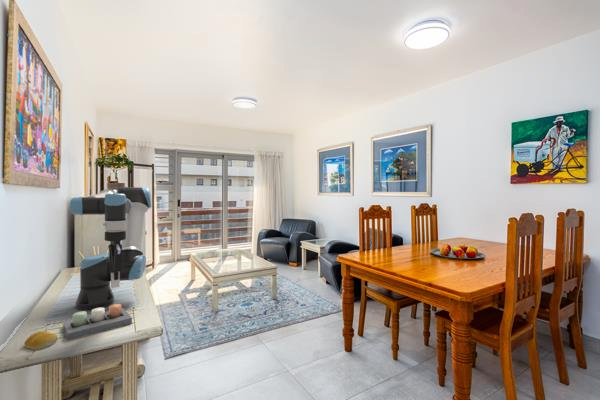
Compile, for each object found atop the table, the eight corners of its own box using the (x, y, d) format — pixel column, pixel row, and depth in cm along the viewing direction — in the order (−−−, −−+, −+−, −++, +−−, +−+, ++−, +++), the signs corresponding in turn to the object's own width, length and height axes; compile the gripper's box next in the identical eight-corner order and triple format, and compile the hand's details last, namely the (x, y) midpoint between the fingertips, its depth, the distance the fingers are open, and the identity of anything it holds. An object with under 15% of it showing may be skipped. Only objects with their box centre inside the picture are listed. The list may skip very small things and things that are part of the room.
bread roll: (36, 352, 100) (35, 341, 100) (20, 347, 104) (20, 335, 104) (63, 341, 108) (63, 330, 108) (47, 336, 111) (47, 325, 111)
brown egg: (107, 315, 125) (107, 305, 125) (119, 312, 128) (119, 303, 128) (110, 318, 122) (110, 308, 122) (122, 315, 125) (122, 306, 125)
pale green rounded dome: (72, 323, 117) (71, 313, 117) (85, 320, 120) (85, 310, 120) (73, 327, 114) (73, 316, 113) (87, 323, 117) (87, 313, 116)
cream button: (90, 319, 121) (90, 309, 121) (103, 316, 124) (103, 306, 124) (92, 322, 118) (92, 312, 118) (105, 319, 121) (105, 309, 121)
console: (63, 327, 119) (63, 321, 119) (122, 312, 133) (122, 307, 133) (67, 340, 109) (67, 333, 108) (131, 323, 123) (131, 317, 123)
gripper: (101, 229, 126) (101, 284, 127) (108, 233, 116) (108, 293, 117) (121, 228, 131) (121, 281, 132) (129, 231, 122) (129, 289, 122)
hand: (115, 286), depth 125 cm, fingers closed
